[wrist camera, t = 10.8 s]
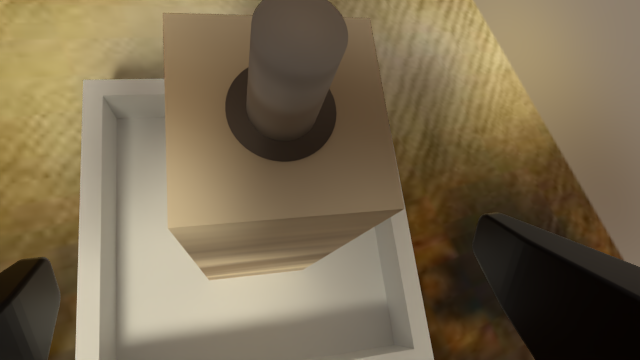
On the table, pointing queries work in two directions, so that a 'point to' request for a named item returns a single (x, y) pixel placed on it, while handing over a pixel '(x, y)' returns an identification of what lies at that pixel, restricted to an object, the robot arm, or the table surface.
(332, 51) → the wooden square post
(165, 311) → the white square tray
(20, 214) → the table surface
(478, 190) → the table surface
